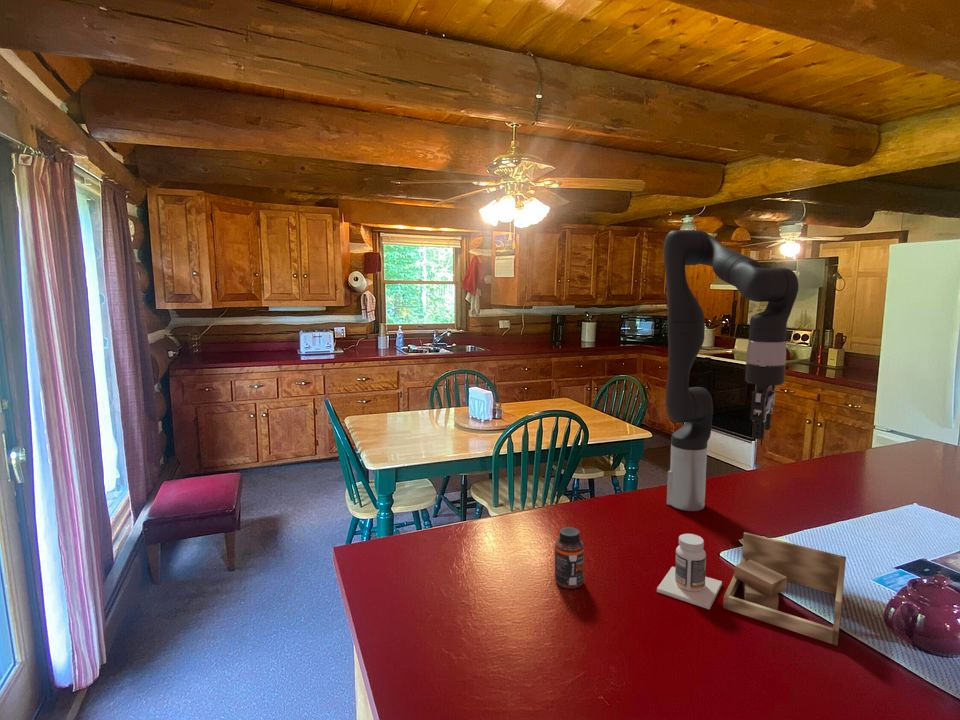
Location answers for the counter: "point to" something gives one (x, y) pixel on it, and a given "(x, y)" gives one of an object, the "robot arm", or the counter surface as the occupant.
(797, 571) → the wooden box frame
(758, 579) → the offcut block upper
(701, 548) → the pill bottle
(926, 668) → the counter surface
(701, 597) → the tile
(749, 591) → the offcut block lower
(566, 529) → the supplement bottle
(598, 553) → the counter surface
